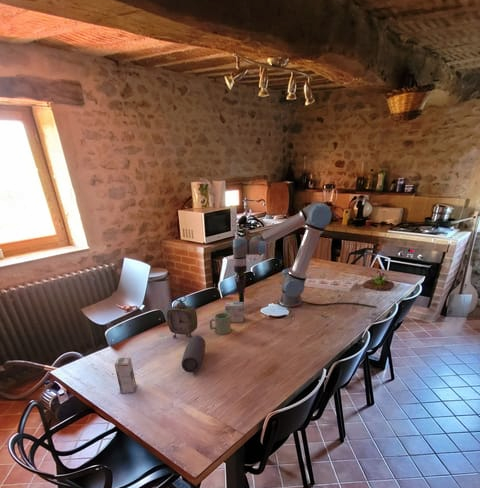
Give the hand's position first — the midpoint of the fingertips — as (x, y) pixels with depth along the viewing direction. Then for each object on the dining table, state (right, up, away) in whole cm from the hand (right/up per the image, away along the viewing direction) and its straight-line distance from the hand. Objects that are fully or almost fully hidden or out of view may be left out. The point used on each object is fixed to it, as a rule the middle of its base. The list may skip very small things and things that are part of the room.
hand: (241, 302), depth 227 cm
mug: (-12, -20, -20) cm, 31 cm away
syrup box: (-50, -50, -69) cm, 99 cm away
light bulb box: (-4, -12, -7) cm, 15 cm away
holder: (+62, +21, +45) cm, 80 cm away
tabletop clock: (-32, -24, -24) cm, 47 cm away
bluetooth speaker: (-23, -38, -52) cm, 68 cm away
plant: (+100, +18, +36) cm, 108 cm away
